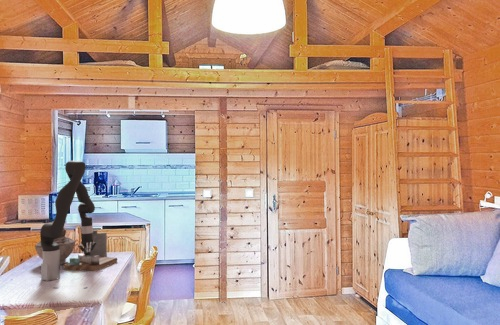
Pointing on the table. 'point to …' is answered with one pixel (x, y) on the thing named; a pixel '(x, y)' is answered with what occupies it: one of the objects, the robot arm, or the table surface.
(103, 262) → the lock board
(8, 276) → the table surface
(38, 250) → the ceramic pot
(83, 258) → the bar
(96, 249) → the hip flask
